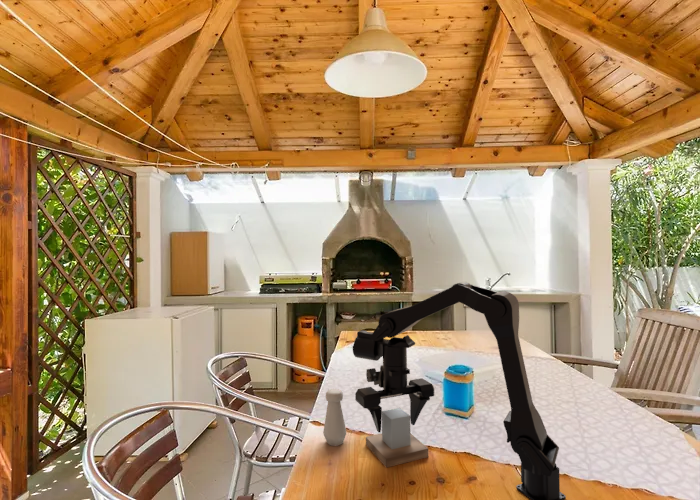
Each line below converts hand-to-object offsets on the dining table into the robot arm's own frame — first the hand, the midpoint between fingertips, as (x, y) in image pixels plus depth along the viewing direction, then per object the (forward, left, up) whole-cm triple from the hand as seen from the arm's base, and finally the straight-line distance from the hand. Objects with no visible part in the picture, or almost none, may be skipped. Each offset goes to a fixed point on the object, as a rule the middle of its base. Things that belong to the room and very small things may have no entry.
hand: (395, 428), depth 96 cm
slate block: (0, 0, -4) cm, 4 cm away
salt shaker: (+10, +12, -6) cm, 17 cm away
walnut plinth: (0, 0, -6) cm, 6 cm away
